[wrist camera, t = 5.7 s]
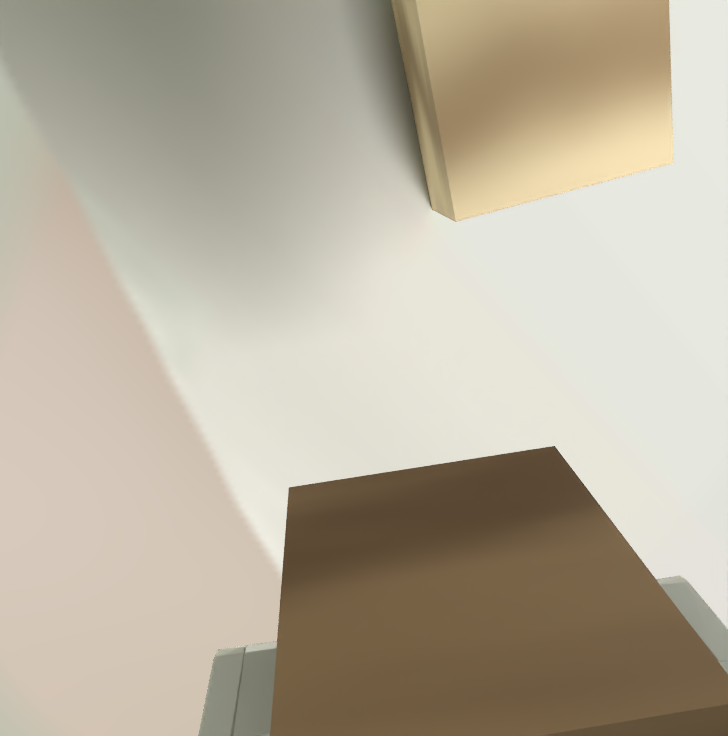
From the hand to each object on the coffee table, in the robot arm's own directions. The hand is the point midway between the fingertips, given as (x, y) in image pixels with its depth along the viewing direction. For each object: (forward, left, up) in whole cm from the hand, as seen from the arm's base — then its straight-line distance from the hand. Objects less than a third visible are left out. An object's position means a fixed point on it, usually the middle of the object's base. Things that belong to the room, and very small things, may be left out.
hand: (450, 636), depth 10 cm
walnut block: (0, 0, -2) cm, 2 cm away
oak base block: (-9, +6, -14) cm, 18 cm away
